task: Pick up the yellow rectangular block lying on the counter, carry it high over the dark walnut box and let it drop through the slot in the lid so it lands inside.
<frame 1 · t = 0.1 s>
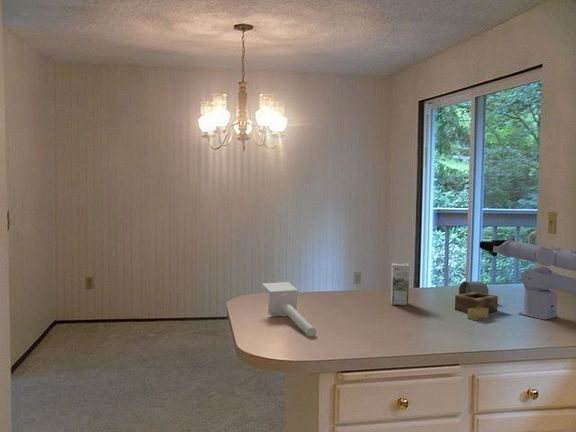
hand: (486, 243, 196), 22 cm above the worktop, tool horizontal, fingers open, 7 cm apart
ceramic mug: (470, 301, 202), on the worktop
yellow rectangular block: (477, 319, 177), on the worktop
white block with rod: (291, 324, 170), on the worktop
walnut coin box: (476, 310, 188), on the worktop
syrup box: (399, 304, 196), on the worktop
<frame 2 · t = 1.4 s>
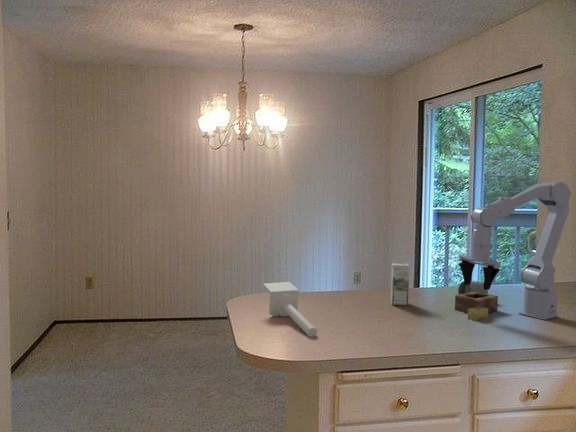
hand: (476, 287, 177), 10 cm above the worktop, tool pointing down, fingers open, 7 cm apart
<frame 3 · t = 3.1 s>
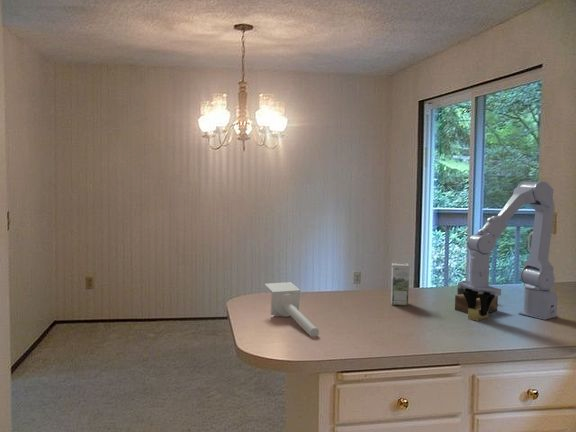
hand: (477, 314, 177), 1 cm above the worktop, tool pointing down, fingers closed on yellow rectangular block, 4 cm apart
yellow rectangular block: (477, 318, 177), on the worktop, touching gripper
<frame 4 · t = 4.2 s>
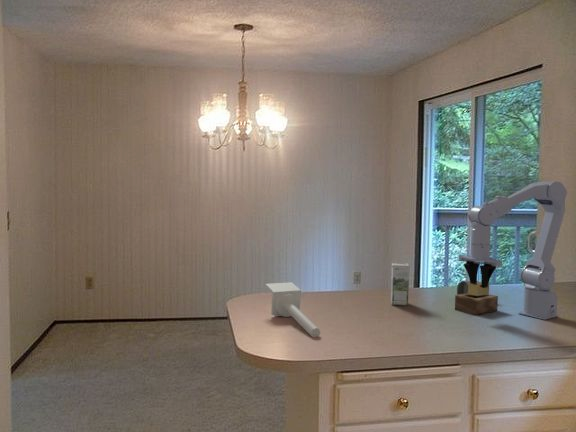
hand: (479, 286, 176), 10 cm above the worktop, tool pointing down, fingers closed on yellow rectangular block, 3 cm apart
yellow rectangular block: (478, 294, 176), point 8 cm above the worktop, touching gripper
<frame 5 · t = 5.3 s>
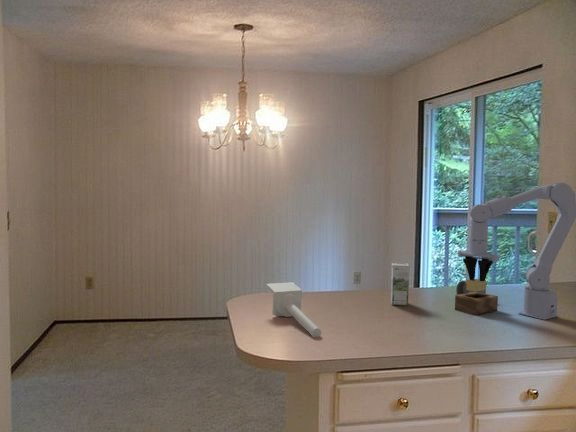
hand: (477, 280, 187), 10 cm above the worktop, tool pointing down, fingers closed on yellow rectangular block, 3 cm apart
yellow rectangular block: (476, 289, 187), point 7 cm above the worktop, touching gripper
when the fingers open (7 cm above the worktop, at t = 6.2 s): yellow rectangular block drops 3 cm, resting on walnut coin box.
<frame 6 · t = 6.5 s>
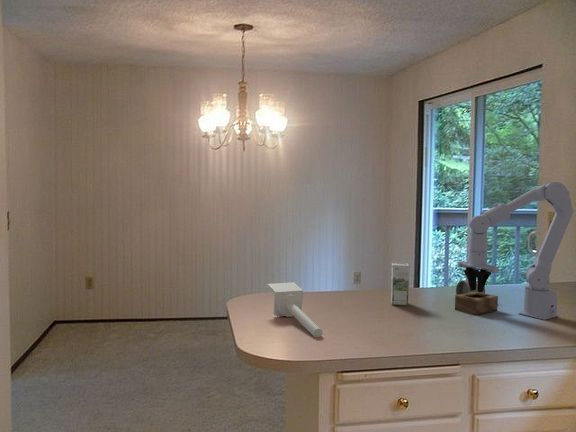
hand: (476, 291, 187), 7 cm above the worktop, tool pointing down
yellow rectangular block: (473, 308, 188), resting on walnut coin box
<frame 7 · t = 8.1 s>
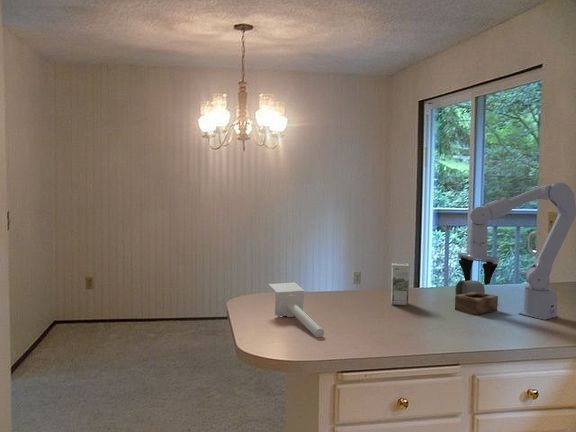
hand: (477, 282, 187), 10 cm above the worktop, tool pointing down, fingers open, 7 cm apart
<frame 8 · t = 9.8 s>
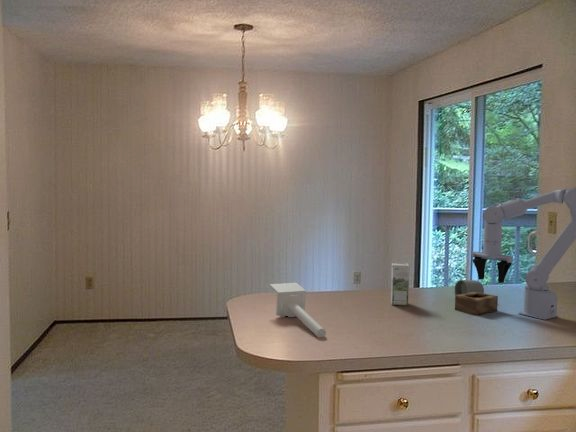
hand: (491, 280, 188), 10 cm above the worktop, tool pointing down, fingers open, 7 cm apart
at the end: yellow rectangular block inside the target area on the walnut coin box (0.7 cm from its centre), point 0.5 cm above the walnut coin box's base; the gripper is holding nothing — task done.
